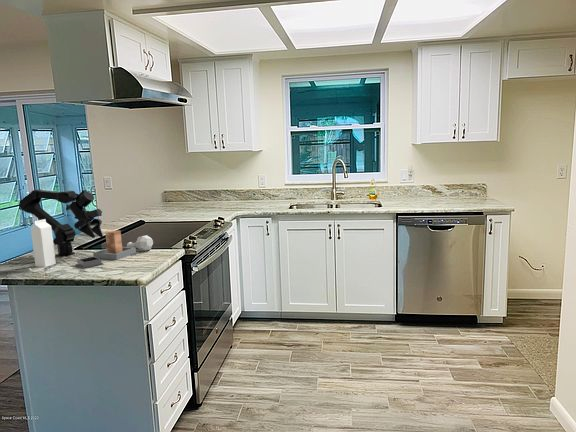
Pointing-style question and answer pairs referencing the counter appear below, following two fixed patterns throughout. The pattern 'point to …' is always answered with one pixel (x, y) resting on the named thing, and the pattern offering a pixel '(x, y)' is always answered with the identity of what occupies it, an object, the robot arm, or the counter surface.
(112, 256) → the tray
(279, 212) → the counter surface
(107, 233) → the block
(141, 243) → the chicken leg
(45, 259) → the milk
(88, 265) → the grey square base plate
